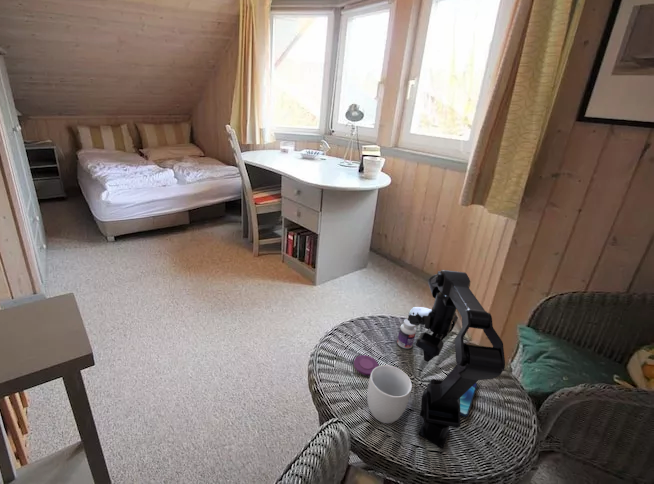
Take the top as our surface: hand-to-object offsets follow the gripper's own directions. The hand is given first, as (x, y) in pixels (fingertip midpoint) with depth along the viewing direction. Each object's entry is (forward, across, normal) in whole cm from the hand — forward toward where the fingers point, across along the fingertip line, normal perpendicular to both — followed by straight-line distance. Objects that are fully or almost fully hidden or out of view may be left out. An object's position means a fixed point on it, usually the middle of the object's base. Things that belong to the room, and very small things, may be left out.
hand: (431, 352), depth 106 cm
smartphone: (+13, -3, +10) cm, 17 cm away
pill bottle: (+14, -13, -11) cm, 22 cm away
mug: (+13, +17, -5) cm, 22 cm away
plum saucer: (+13, +6, -17) cm, 22 cm away
